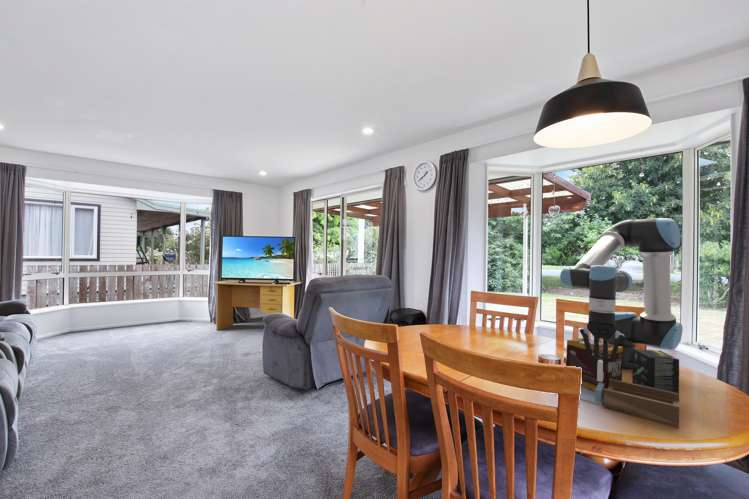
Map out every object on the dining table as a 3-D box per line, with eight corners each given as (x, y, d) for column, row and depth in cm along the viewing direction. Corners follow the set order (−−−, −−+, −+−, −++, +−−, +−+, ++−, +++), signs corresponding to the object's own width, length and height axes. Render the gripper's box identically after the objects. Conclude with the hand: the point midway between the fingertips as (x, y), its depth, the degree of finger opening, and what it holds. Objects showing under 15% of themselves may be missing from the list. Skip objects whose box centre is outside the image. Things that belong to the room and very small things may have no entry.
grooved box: (609, 395, 120) (609, 378, 120) (677, 412, 109) (678, 393, 109) (604, 408, 110) (604, 389, 110) (678, 428, 99) (679, 407, 99)
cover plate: (555, 385, 130) (555, 371, 130) (605, 397, 120) (606, 383, 120) (548, 393, 123) (548, 379, 123) (601, 407, 112) (602, 391, 112)
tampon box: (679, 402, 116) (680, 359, 116) (648, 399, 118) (649, 356, 118) (659, 389, 127) (660, 349, 126) (631, 387, 128) (632, 347, 128)
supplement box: (606, 394, 122) (607, 350, 121) (565, 379, 135) (566, 339, 135) (623, 389, 126) (624, 346, 126) (581, 375, 140) (582, 336, 140)
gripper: (577, 309, 118) (576, 378, 118) (624, 315, 109) (622, 389, 110) (581, 307, 124) (580, 372, 124) (626, 312, 115) (624, 382, 115)
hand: (600, 380), depth 117 cm, fingers closed
